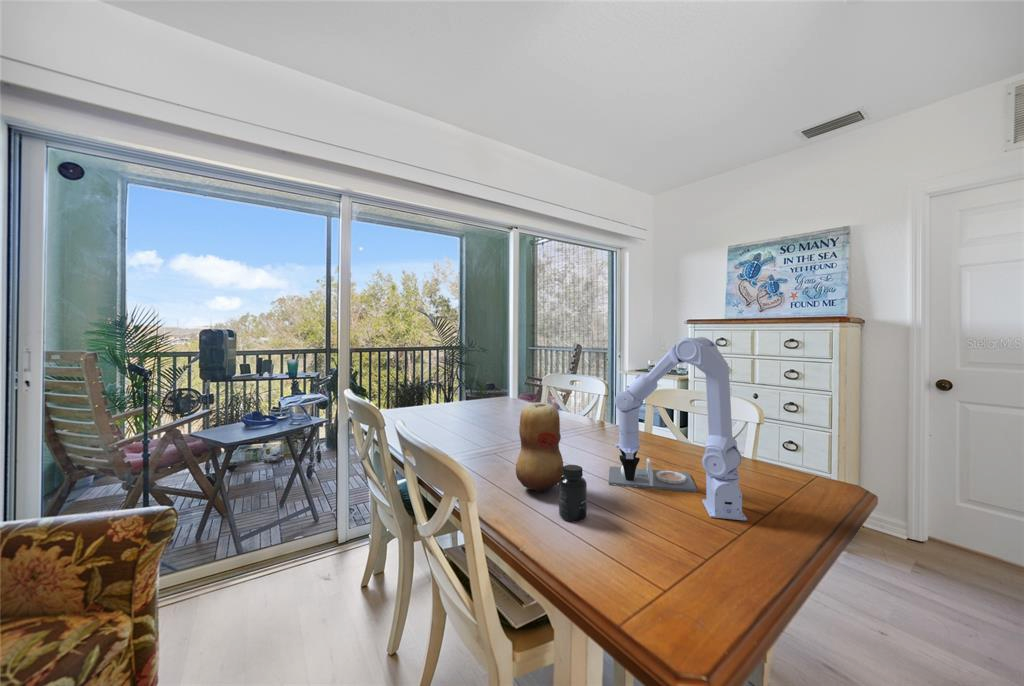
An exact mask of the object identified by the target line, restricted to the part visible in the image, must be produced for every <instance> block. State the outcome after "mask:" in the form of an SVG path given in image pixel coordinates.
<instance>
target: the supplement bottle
mask: <svg viewBox="0 0 1024 686" xmlns="http://www.w3.org/2000/svg"><path fill="white" fill-rule="evenodd" d="M562 475H563V476H562V477H561V478H560V480H559V483H558V514H559V517H560V516H561V517H562V518H561V517H560V518H561V519H563V520H564V519H565V521H567V520H568V522H572V521H575V522H576V523H577V521H578V522H581V521H584V520H585V519H586V518H587V515H588V502H587V501H588V491H587V490H588V487H587V486H588V484H587V480H586V478H584V477H583V466H581V465H577V464H566V465H563V472H562Z"/></svg>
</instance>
